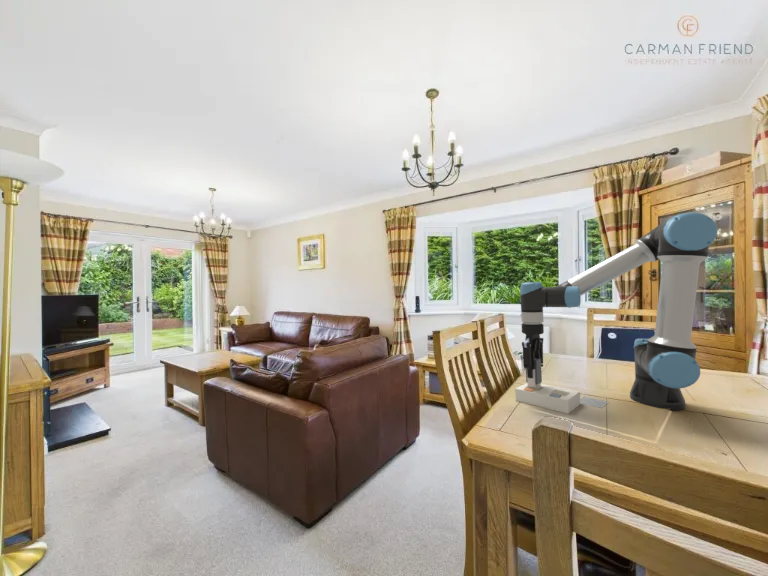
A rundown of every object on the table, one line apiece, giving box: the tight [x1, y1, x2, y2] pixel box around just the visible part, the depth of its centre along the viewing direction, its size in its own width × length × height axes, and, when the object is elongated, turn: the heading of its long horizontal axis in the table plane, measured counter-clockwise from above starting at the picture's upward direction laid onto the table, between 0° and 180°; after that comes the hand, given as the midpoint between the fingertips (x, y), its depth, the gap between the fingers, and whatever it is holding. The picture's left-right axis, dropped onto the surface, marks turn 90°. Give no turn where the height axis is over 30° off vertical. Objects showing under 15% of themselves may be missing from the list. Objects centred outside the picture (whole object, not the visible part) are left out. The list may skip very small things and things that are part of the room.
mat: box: [580, 396, 609, 409], centre depth 115 cm, size 8×8×1 cm
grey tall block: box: [525, 357, 543, 391], centre depth 120 cm, size 4×4×12 cm
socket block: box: [514, 382, 581, 415], centre depth 116 cm, size 18×12×5 cm, turn 41°
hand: (534, 384), depth 120 cm, fingers closed on grey tall block, 4 cm apart
